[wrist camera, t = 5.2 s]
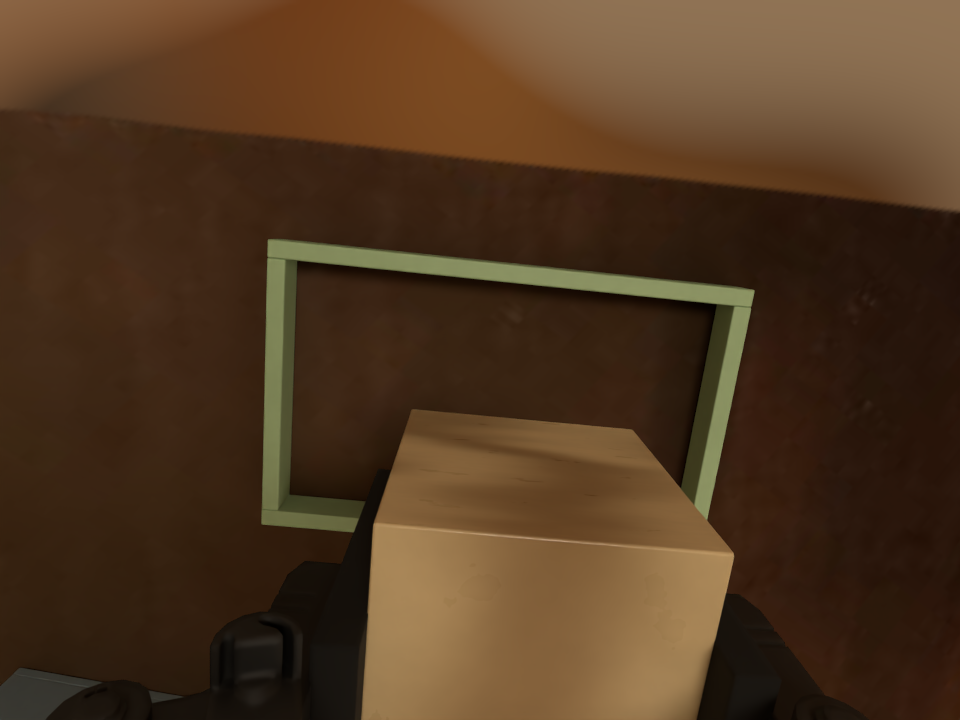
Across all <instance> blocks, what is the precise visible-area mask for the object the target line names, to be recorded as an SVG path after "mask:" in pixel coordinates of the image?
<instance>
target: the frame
mask: <svg viewBox="0 0 960 720" xmlns="http://www.w3.org/2000/svg"><path fill="white" fill-rule="evenodd" d="M267 256H268V257H269V258H268V259H267V297H266V343H265V390H264V436H263V483H262V521H261V524H264V525H275V526H287V527H298V528H310V529H321V530H333V531H344V532H354V530H355V528H356V525H357V522H358V520H359V517H360V515H361V512H362V510H363V507H364V504H365V502H366V501H355V500H344V499H332V498H321V497H310V496H299V495H289V494H290V466H291V436H292V405H293V375H294V344H295V314H296V284H297V261H306V262H316V263H325V264H335V265H345V266H354V267H364V268H374V269H383V270H393V271H402V272H412V273H422V274H431V275H441V276H451V277H460V278H470V279H480V280H489V281H499V282H508V283H518V284H528V285H537V286H547V287H557V288H566V289H576V290H586V291H595V292H605V293H614V294H624V295H634V296H643V297H653V298H663V299H672V300H682V301H691V302H701V303H711V304H717V307H716V312H715V317H714V322H713V327H712V333H711V338H710V343H709V348H708V353H707V358H706V363H705V368H704V373H703V379H702V384H701V389H700V394H699V399H698V404H697V409H696V414H695V419H694V425H693V430H692V435H691V440H690V445H689V450H688V455H687V460H686V465H685V471H684V476H683V481H682V486H681V490H682V491H683V492H684V493H685V495H686V496H687V497H688V498H689V499H690V501H691V502H692V503H693V504H694V505H695V507H696V508H697V509H698V510H699V512H700V513H701V514H702V515H703V516H704V518H705V519H706V520H707V517H708V512H709V508H710V503H711V498H712V493H713V489H714V484H715V479H716V474H717V469H718V465H719V460H720V455H721V450H722V446H723V441H724V436H725V431H726V426H727V422H728V417H729V412H730V407H731V403H732V398H733V393H734V388H735V383H736V379H737V374H738V369H739V364H740V360H741V355H742V350H743V345H744V340H745V336H746V331H747V326H748V321H749V317H750V312H751V308H750V307H751V305H752V301H753V296H754V290H751V289H746V288H741V287H735V286H725V285H716V284H706V283H697V282H687V281H678V280H668V279H659V278H649V277H640V276H630V275H621V274H611V273H601V272H592V271H582V270H573V269H563V268H554V267H544V266H535V265H525V264H516V263H506V262H497V261H487V260H478V259H468V258H459V257H449V256H440V255H430V254H421V253H411V252H402V251H392V250H383V249H373V248H363V247H354V246H344V245H335V244H325V243H316V242H306V241H297V240H287V239H268V252H267Z"/></svg>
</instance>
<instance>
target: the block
mask: <svg viewBox="0 0 960 720" xmlns="http://www.w3.org/2000/svg"><path fill="white" fill-rule="evenodd" d="M733 560H734V553H733V552H732V551H731V549H730V548H729V547H728V546H727V544H726V543H725V542H724V541H723V540H722V538H721V537H720V536H719V535H718V533H717V532H716V531H715V530H714V529H713V527H712V526H711V525H710V524H709V523H708V521H707V520H706V519H705V518H704V516H703V515H702V514H701V513H700V512H699V510H698V509H697V508H696V507H695V505H694V504H693V503H692V502H691V501H690V499H689V498H688V497H687V496H686V495H685V493H684V492H683V491H682V490H681V488H680V487H679V486H678V485H677V484H676V482H675V481H674V480H673V479H672V478H671V476H670V475H669V474H668V473H667V471H666V470H665V469H664V468H663V467H662V465H661V464H660V463H659V462H658V460H657V459H656V458H655V457H654V456H653V454H652V453H651V452H650V451H649V450H648V448H647V447H646V446H645V445H644V443H643V442H642V441H641V440H640V439H639V437H638V436H637V435H636V434H635V432H634V431H633V430H631V429H620V428H609V427H598V426H587V425H577V424H566V423H555V422H544V421H534V420H523V419H512V418H501V417H490V416H480V415H469V414H458V413H447V412H437V411H426V410H415V409H413V410H411V413H410V416H409V419H408V422H407V425H406V428H405V431H404V434H403V437H402V440H401V443H400V446H399V449H398V452H397V455H396V458H395V461H394V464H393V467H392V470H391V473H390V476H389V479H388V482H387V485H386V488H385V491H384V494H383V497H382V500H381V503H380V506H379V509H378V512H377V515H376V518H375V521H374V524H373V534H372V549H371V564H370V579H369V594H368V610H367V613H368V623H367V638H366V653H365V668H364V683H363V698H362V713H361V720H697V716H698V711H699V707H700V703H701V698H702V694H703V690H704V685H705V681H706V676H707V672H708V668H709V663H710V659H711V655H712V650H713V646H714V641H715V639H716V634H717V630H718V626H719V621H720V617H721V612H722V608H723V604H724V599H725V595H726V591H727V586H728V582H729V577H730V573H731V569H732V564H733Z"/></svg>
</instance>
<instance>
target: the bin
mask: <svg viewBox="0 0 960 720" xmlns="http://www.w3.org/2000/svg"><path fill="white" fill-rule="evenodd" d="M100 683H103V682H99V681H93V680H88V679H82V678H76V677H71V676H65V675H59V674H54V673H48V672H43V671H37V670H31V669H26V668H19V669H18V670H17V671H16V672H14V674H13V675H12V676H10V677H9V678H8V679H7V680H6V681H5V682H4V683H3V684H2V685H1V686H0V720H46V718H47V717H48V716H49V715H50V714H51V713H52V712H53V711H54V710H55V709H56V708H57V707H58V706H59V705H60V704H61V703H62V702H63V701H65V700H66V699H68V698H70V697H71V696H73V695H75V694H76V693H78V692H80V691H81V690H83V689H86V688H89V687H92V686H94V685H97V684H100ZM149 693H150V697H151V700H152V703H155V702H160V701H166V700H171V699H176V698H182V697H183V696H178V695H172V694H166V693H161V692H155V691H149Z"/></svg>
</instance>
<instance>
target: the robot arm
mask: <svg viewBox="0 0 960 720" xmlns="http://www.w3.org/2000/svg"><path fill="white" fill-rule="evenodd" d="M390 473H391V470H385V469H378V471H377V474H376V476H375V479H374V481H373V484H372V486H371V489H370V492H369V494H368V497H367V499H366V502H365V504H364V507H363V510H362V512H361V515H360V517H359V520H358V522H357V525H356V528H355V530H354V533H353V535H352V538H351V540H350V543H349V546H348V548H347V551H346V553H345V556H344V558H343V561H342V564H337V563H325V562H312V561H304V562H303V563H302V564H300V565H299V566H298V567H297V568H295V569H294V570H293V571H292V572H290V573H289V574H288V575H287V577H286V579H285V581H284V582H283V584H282V586H281V588H280V590H279V594H277V596H276V597H275V599H274V601H273V603H272V605H271V609H269V611H268V612H257V613H252V614H248V615H244V616H241V617H239V618H237V619H235V620H233V621H231V622H229V623H227V624H226V625H225V626H224V627H223V628H222V629H221V630H220V631H219V632H218V633H217V634H216V635H215V637H214V639H213V641H212V643H211V645H210V689H207V690H205V691H203V692H201V693H197V694H194V695H190V696H186V697H182V698H176V699H171V700H166V701H160V702H155V703H152V700H151V697H150V693H149V690H148V689H146V688H145V687H144V686H142V685H141V684H140V683H137V682H132V681H127V680H118V681H109V682H103V683H100V684H97V685H94V686H92V687H89V688H86V689H83V690H81V691H80V692H78V693H76V694H75V695H73V696H71V697H70V698H68V699H66V700H65V701H63V702H62V703H61V704H60V705H59V706H58V707H57V708H56V709H55V710H54V711H53V712H52V713H51V714H50V715H49V716H48V717H47V718H46V720H361V713H362V698H363V683H364V668H365V653H366V638H367V623H368V613H367V610H368V594H369V579H370V564H371V549H372V534H373V524H374V521H375V518H376V515H377V512H378V509H379V506H380V503H381V500H382V497H383V494H384V491H385V488H386V485H387V482H388V479H389V476H390ZM697 720H869V719H868V718H867V717H865V716H864V715H863V714H862V713H860V712H859V711H857V710H856V709H854V708H852V707H851V706H849V705H847V704H846V703H844V702H841V701H838V700H836V699H833V698H831V697H828V696H825V695H824V693H823V692H822V691H821V690H820V688H819V687H818V686H817V684H816V683H815V682H814V680H813V679H812V678H811V676H810V675H809V674H808V673H807V671H806V670H805V669H804V667H803V666H802V665H801V663H800V662H799V661H798V659H797V658H796V657H795V656H794V654H793V653H792V652H791V650H790V649H789V648H788V647H785V642H784V641H783V640H782V639H781V637H780V636H779V635H778V633H777V632H774V628H773V627H772V625H771V624H770V623H769V622H768V620H767V619H766V618H765V616H764V615H763V614H762V612H761V611H760V610H759V609H757V608H756V607H755V606H754V605H752V604H751V603H750V602H748V601H747V600H746V599H745V598H743V597H742V596H741V595H739V594H726V595H725V599H724V604H723V608H722V612H721V617H720V621H719V626H718V630H717V634H716V639H715V641H714V646H713V650H712V655H711V659H710V663H709V668H708V672H707V676H706V681H705V685H704V690H703V694H702V698H701V703H700V707H699V711H698V716H697Z"/></svg>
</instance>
